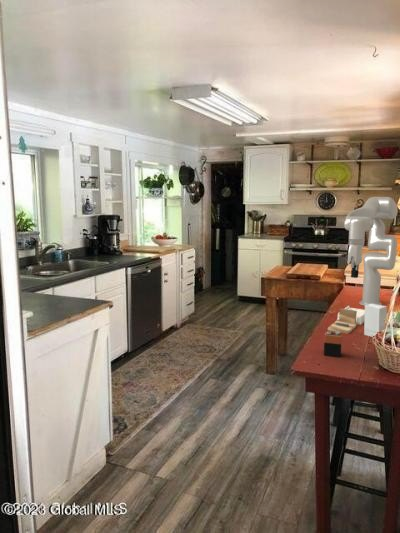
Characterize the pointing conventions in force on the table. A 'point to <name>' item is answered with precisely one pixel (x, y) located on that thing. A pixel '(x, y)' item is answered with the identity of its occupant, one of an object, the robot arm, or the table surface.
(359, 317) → the box
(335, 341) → the battery
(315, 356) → the table surface
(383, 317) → the skincare box
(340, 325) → the lid
